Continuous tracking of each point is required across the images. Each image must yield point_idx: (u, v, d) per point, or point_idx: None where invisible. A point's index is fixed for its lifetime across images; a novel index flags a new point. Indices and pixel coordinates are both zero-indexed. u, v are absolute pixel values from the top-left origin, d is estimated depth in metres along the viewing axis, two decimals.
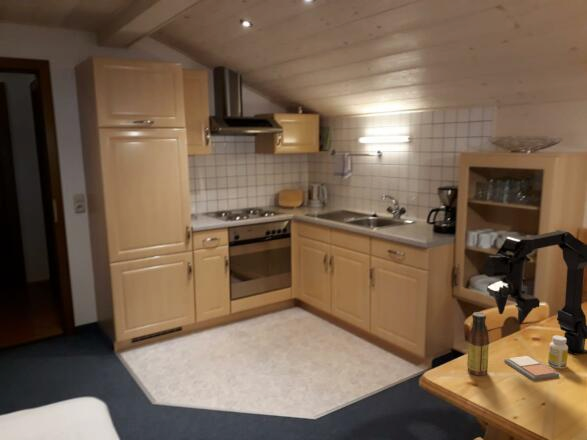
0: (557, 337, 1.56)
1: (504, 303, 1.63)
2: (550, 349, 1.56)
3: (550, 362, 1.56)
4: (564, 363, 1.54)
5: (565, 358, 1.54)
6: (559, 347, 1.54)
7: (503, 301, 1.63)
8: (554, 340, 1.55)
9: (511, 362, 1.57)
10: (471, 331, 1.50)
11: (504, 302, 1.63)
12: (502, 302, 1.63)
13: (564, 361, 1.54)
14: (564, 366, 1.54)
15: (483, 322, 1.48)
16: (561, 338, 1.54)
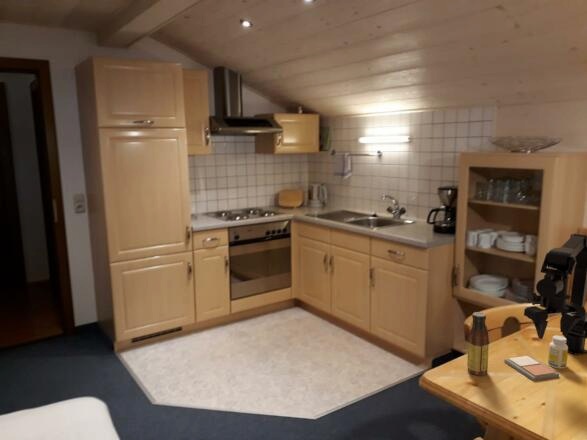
0: (557, 337, 1.56)
1: (569, 326, 1.49)
2: (550, 349, 1.56)
3: (550, 362, 1.56)
4: (564, 363, 1.54)
5: (565, 358, 1.54)
6: (559, 347, 1.54)
7: (567, 323, 1.49)
8: (554, 340, 1.55)
9: (511, 362, 1.57)
10: (471, 331, 1.50)
11: (568, 325, 1.49)
12: (566, 323, 1.49)
13: (564, 361, 1.54)
14: (564, 366, 1.54)
15: (483, 322, 1.48)
16: (561, 338, 1.54)
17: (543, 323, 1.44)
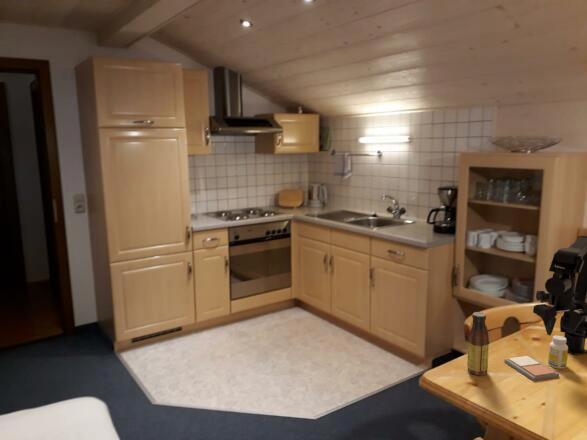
0: (557, 337, 1.56)
1: (576, 323, 1.54)
2: (550, 349, 1.56)
3: (550, 362, 1.56)
4: (564, 363, 1.54)
5: (565, 358, 1.54)
6: (559, 347, 1.54)
7: (575, 320, 1.55)
8: (554, 340, 1.55)
9: (511, 362, 1.57)
10: (471, 331, 1.50)
11: (576, 321, 1.55)
12: (574, 320, 1.55)
13: (564, 361, 1.54)
14: (564, 366, 1.54)
15: (483, 322, 1.48)
16: (561, 338, 1.54)
17: (552, 320, 1.50)
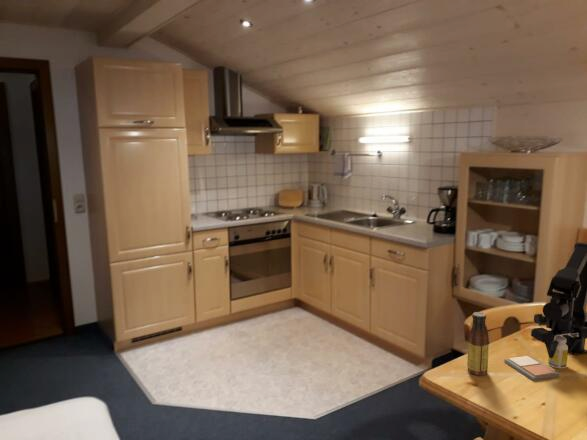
0: (557, 337, 1.56)
1: (570, 347, 1.55)
2: None
3: (550, 362, 1.56)
4: (564, 363, 1.54)
5: (565, 358, 1.54)
6: (559, 347, 1.54)
7: (568, 344, 1.56)
8: None
9: (511, 362, 1.57)
10: (471, 331, 1.50)
11: (569, 345, 1.55)
12: (567, 344, 1.56)
13: (564, 361, 1.54)
14: (564, 366, 1.54)
15: (483, 322, 1.48)
16: (561, 338, 1.54)
17: (554, 343, 1.51)
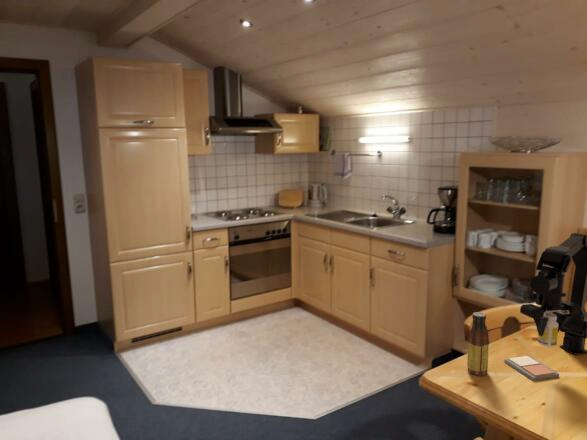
0: (547, 314, 1.50)
1: (560, 325, 1.50)
2: None
3: (540, 340, 1.51)
4: (554, 341, 1.49)
5: (555, 336, 1.48)
6: (549, 324, 1.48)
7: (558, 321, 1.50)
8: None
9: (511, 362, 1.57)
10: (471, 331, 1.50)
11: (559, 323, 1.50)
12: (557, 322, 1.51)
13: (554, 338, 1.48)
14: (554, 344, 1.49)
15: (483, 322, 1.48)
16: (551, 315, 1.49)
17: (543, 320, 1.46)
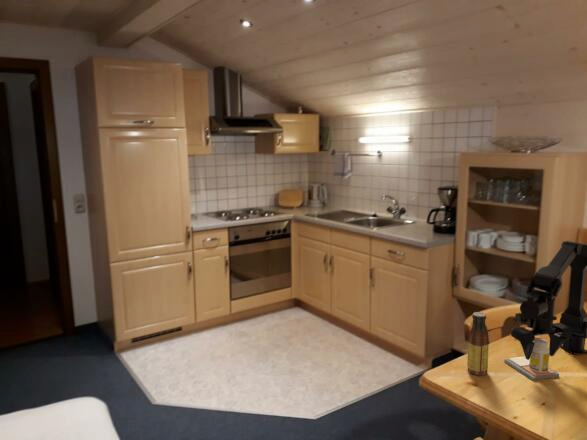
0: (538, 340, 1.50)
1: (556, 347, 1.50)
2: None
3: (531, 366, 1.50)
4: (545, 367, 1.48)
5: (546, 362, 1.48)
6: (540, 350, 1.48)
7: (554, 343, 1.50)
8: (535, 343, 1.49)
9: (511, 362, 1.57)
10: (471, 331, 1.50)
11: (555, 345, 1.50)
12: (553, 344, 1.51)
13: (546, 365, 1.48)
14: (545, 370, 1.49)
15: (483, 322, 1.48)
16: (542, 342, 1.49)
17: (530, 344, 1.45)
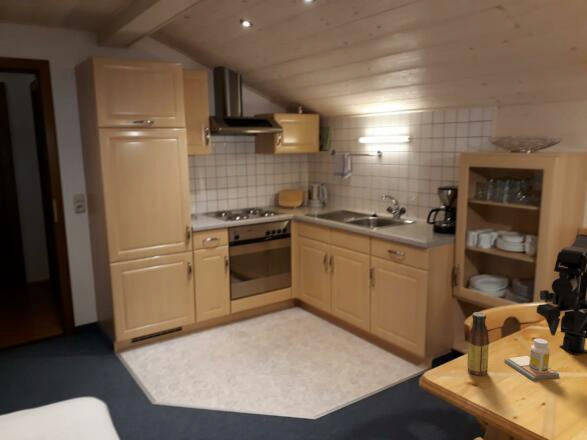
0: (538, 340, 1.50)
1: (581, 323, 1.52)
2: (531, 352, 1.50)
3: (531, 366, 1.50)
4: (545, 367, 1.48)
5: (546, 362, 1.48)
6: (540, 350, 1.48)
7: (579, 320, 1.53)
8: (535, 343, 1.49)
9: (511, 362, 1.57)
10: (471, 331, 1.50)
11: (580, 321, 1.52)
12: (578, 320, 1.53)
13: (546, 365, 1.48)
14: (545, 370, 1.49)
15: (483, 322, 1.48)
16: (542, 342, 1.49)
17: (555, 320, 1.48)
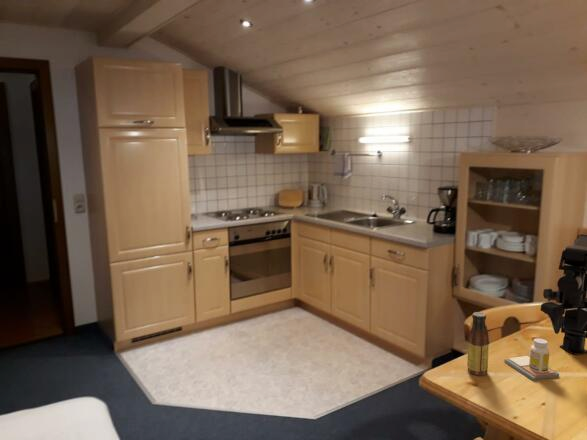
0: (538, 340, 1.50)
1: (584, 322, 1.52)
2: (531, 352, 1.50)
3: (531, 366, 1.50)
4: (545, 367, 1.48)
5: (546, 362, 1.48)
6: (540, 350, 1.48)
7: (583, 318, 1.53)
8: (535, 343, 1.49)
9: (511, 362, 1.57)
10: (471, 331, 1.50)
11: (584, 320, 1.53)
12: (582, 319, 1.53)
13: (546, 365, 1.48)
14: (545, 370, 1.49)
15: (483, 322, 1.48)
16: (542, 342, 1.49)
17: (560, 318, 1.48)
